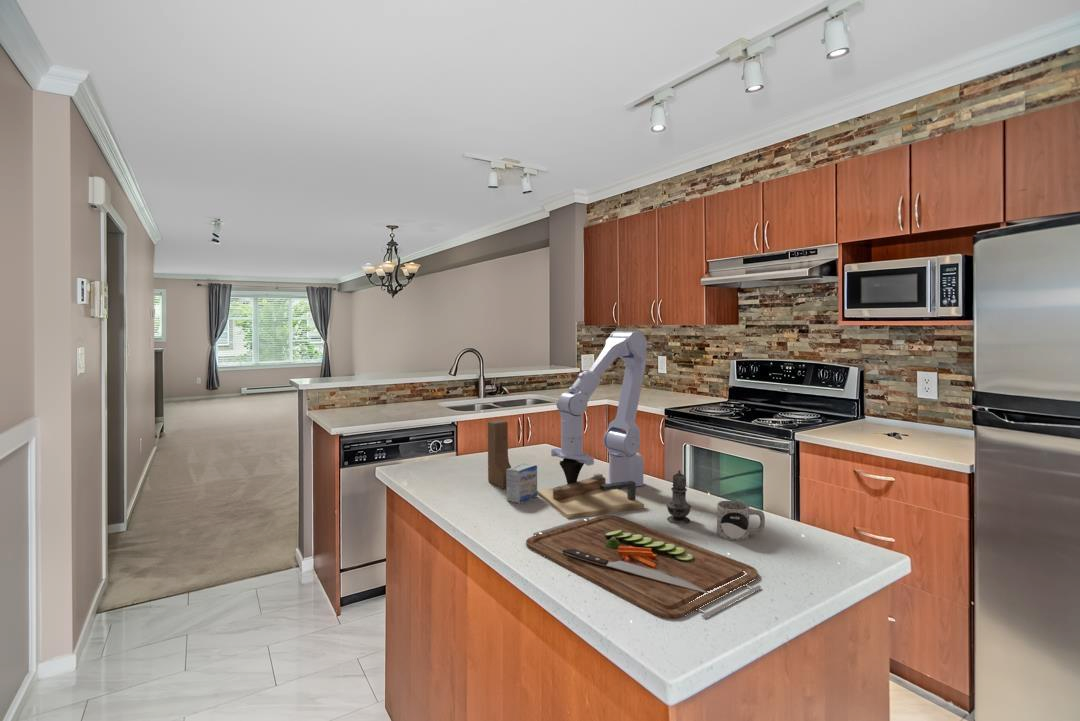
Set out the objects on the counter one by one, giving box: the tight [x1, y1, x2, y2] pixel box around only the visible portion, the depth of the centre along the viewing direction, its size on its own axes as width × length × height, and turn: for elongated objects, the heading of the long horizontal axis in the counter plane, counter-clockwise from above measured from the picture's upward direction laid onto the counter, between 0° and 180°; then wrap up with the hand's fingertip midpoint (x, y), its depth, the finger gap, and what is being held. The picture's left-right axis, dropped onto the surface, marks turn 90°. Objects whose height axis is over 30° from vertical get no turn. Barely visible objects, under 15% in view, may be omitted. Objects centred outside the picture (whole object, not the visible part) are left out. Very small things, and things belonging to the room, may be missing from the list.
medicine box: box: [506, 462, 538, 504], centre depth 149 cm, size 8×4×9 cm, turn 143°
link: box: [553, 472, 607, 499], centre depth 151 cm, size 18×4×3 cm, turn 131°
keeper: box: [600, 481, 637, 500], centre depth 143 cm, size 9×2×6 cm, turn 111°
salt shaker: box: [665, 469, 693, 525], centre depth 132 cm, size 6×6×12 cm
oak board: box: [537, 483, 645, 520], centre depth 147 cm, size 21×21×1 cm
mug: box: [716, 500, 766, 542], centre depth 122 cm, size 10×7×7 cm
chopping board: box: [525, 514, 762, 620], centre depth 111 cm, size 45×27×3 cm, turn 38°
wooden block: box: [487, 419, 512, 489], centre depth 162 cm, size 9×4×18 cm, turn 34°
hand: (572, 486), depth 152 cm, fingers closed
